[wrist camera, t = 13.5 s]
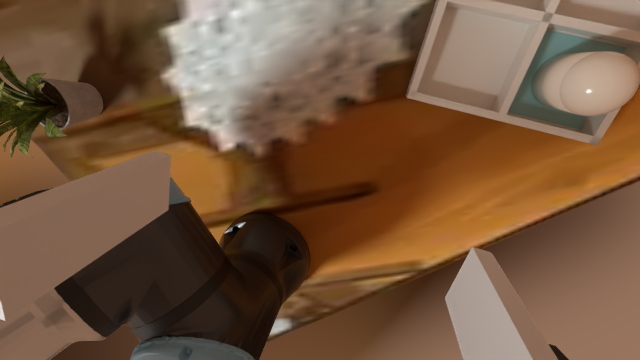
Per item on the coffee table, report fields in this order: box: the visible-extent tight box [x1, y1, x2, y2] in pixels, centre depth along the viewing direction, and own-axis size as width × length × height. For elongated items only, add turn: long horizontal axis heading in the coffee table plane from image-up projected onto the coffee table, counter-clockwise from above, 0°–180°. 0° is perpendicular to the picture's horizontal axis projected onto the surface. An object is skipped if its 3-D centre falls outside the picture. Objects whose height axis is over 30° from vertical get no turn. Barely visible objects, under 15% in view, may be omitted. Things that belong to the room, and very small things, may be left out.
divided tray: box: [405, 0, 640, 145], centre depth 30 cm, size 20×20×4 cm
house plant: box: [0, 56, 103, 157], centre depth 39 cm, size 14×14×16 cm
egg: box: [531, 51, 640, 116], centre depth 28 cm, size 6×6×9 cm
